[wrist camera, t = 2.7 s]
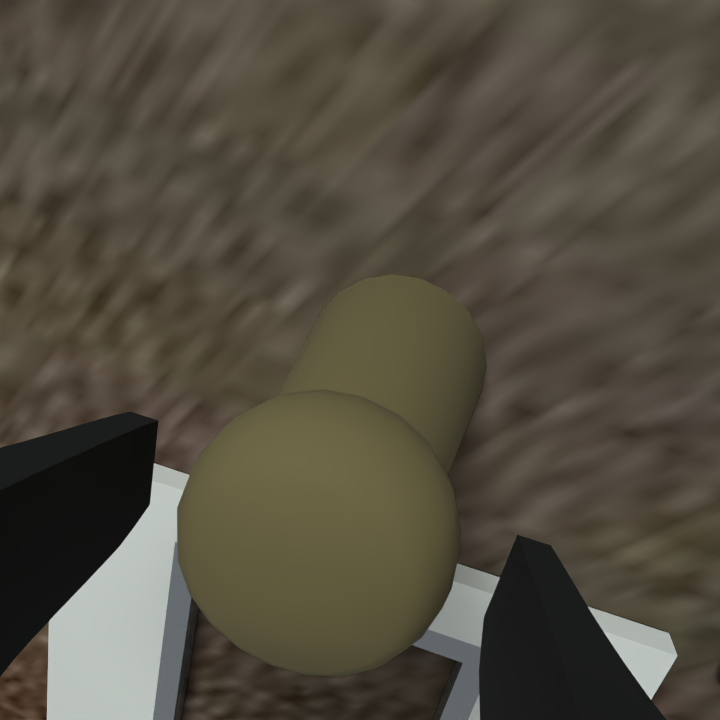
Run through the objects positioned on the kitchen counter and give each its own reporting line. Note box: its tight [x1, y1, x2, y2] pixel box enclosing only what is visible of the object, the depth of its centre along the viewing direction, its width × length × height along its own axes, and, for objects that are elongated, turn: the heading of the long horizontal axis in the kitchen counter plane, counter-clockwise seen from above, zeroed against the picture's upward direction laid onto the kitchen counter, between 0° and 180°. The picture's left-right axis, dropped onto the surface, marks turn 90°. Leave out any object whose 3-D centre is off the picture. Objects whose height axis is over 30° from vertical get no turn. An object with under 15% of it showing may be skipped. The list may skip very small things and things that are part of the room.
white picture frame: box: [47, 463, 677, 720], centre depth 25 cm, size 24×18×1 cm
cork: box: [177, 274, 486, 677], centre depth 14 cm, size 6×6×11 cm
